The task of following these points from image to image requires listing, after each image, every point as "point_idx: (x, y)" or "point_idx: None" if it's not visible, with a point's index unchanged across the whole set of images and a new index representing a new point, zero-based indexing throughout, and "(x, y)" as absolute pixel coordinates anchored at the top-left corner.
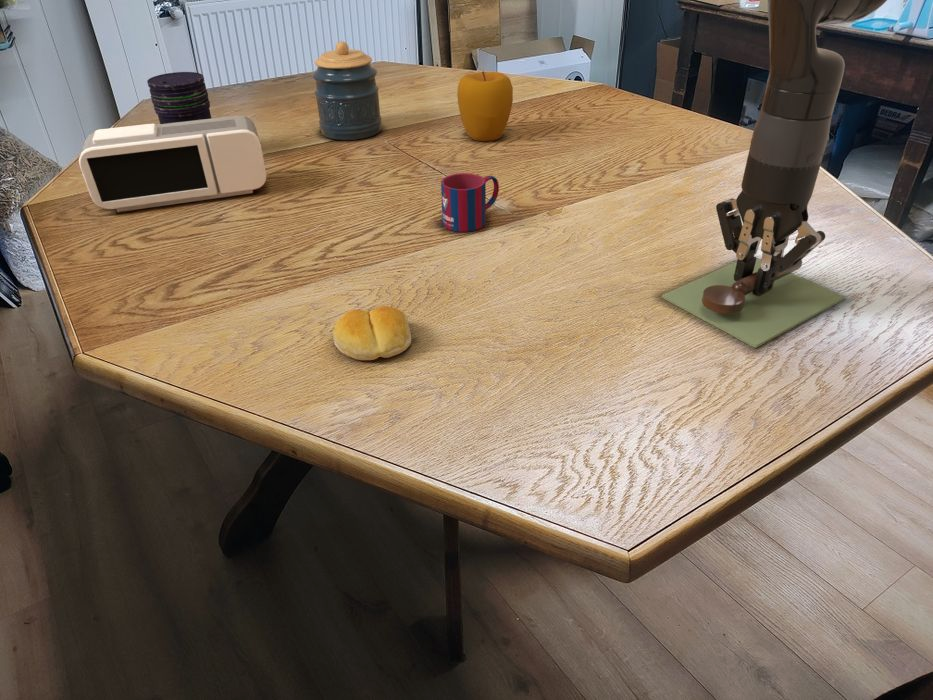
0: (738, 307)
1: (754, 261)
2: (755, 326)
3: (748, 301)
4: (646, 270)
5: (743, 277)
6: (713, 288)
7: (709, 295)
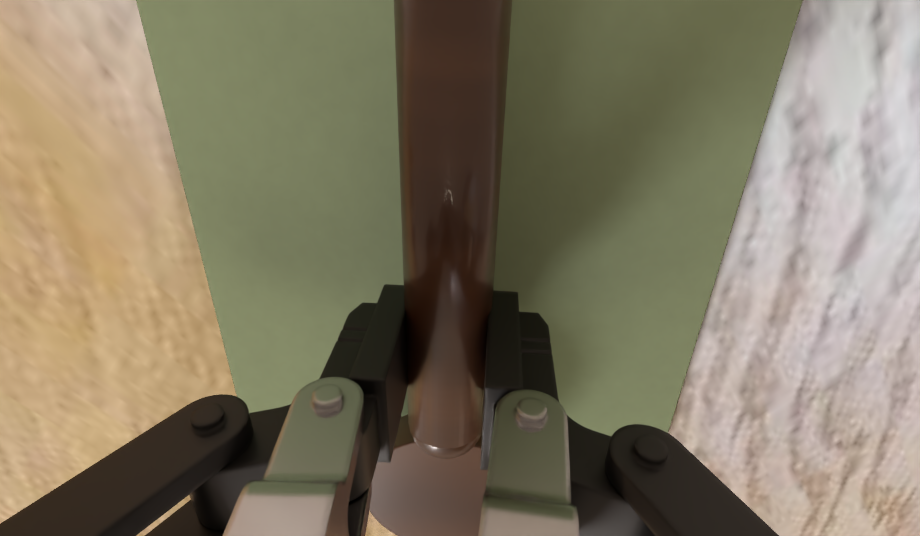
0: None
1: (389, 376)
2: (591, 423)
3: None
4: (61, 363)
5: (405, 377)
6: (384, 491)
7: (412, 529)
